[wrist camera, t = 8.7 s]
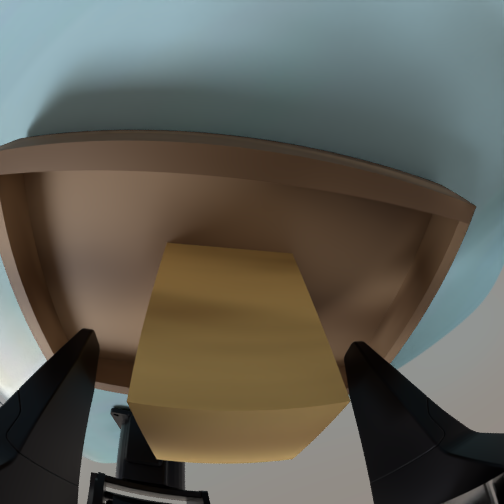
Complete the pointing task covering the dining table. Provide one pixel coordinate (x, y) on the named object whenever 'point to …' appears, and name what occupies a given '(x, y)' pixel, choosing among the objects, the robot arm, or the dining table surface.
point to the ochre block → (232, 359)
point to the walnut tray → (215, 232)
